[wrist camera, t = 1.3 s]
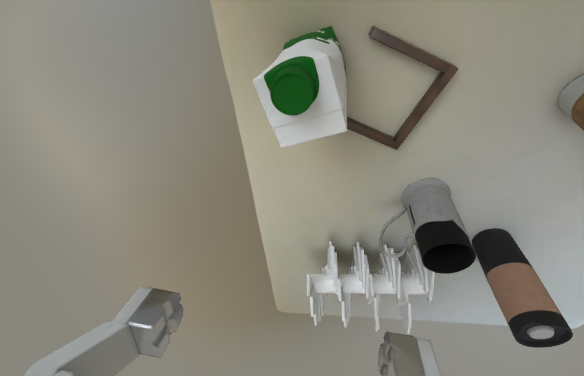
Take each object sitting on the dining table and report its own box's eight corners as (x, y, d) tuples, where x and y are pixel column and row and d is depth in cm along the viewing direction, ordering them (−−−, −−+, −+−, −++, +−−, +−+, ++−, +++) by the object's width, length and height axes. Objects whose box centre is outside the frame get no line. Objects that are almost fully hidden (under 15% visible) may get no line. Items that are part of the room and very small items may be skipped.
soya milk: (335, 16, 38) (332, 51, 22) (350, 81, 43) (355, 146, 27) (277, 38, 41) (237, 84, 25) (297, 97, 46) (274, 165, 30)
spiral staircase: (411, 252, 71) (313, 253, 74) (432, 231, 55) (306, 233, 59) (425, 333, 63) (314, 330, 66) (453, 335, 47) (306, 331, 51)
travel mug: (504, 252, 61) (559, 350, 45) (466, 250, 62) (507, 345, 47) (517, 227, 56) (584, 327, 41) (476, 227, 58) (525, 323, 42)
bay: (373, 25, 38) (374, 27, 37) (455, 65, 40) (458, 68, 39) (327, 116, 47) (326, 119, 46) (395, 145, 49) (397, 150, 47)
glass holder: (450, 209, 56) (478, 273, 44) (376, 218, 60) (385, 279, 48) (450, 174, 51) (482, 236, 39) (370, 187, 55) (378, 247, 43)
